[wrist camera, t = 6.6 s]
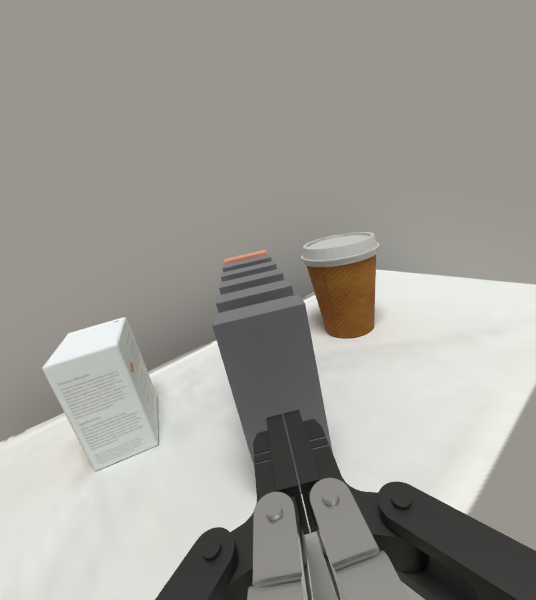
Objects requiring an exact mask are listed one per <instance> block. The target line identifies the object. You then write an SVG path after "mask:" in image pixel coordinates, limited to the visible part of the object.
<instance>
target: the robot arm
mask: <svg viewBox="0 0 536 600" xmlns="http://www.w3.org/2000/svg"><path fill="white" fill-rule="evenodd" d="M283 415H284V419H285V423H286V427H287V432H288V436H289V440H290V445H291V449H292V453H293V457H294V462H295V466H296V470H297V474H298V479H299V483H300V487H301V491H302V495H303V500H304V504H305V508H306V512H307V516H308V521H309V525H310V529H311V533H312V532H315V531H317V534H318V538H319V542H320V546H321V550H322V555H323V559H324V562H325V565H326V568H327V571H328V574H329V577H330V580H331V583H332V586H333V589H334V593H335V596H336V599H337V600H410V598H409V596H408V594H407V592H406V590H405V588H404V587H403V585H402V582H403V583H405V584H406V585H407V586H409V587H410V588H411V589H412V590H414V591H415V592H416V593H418V594H419V595H420V596H422V597H423V598H424V599H425V600H536V551H534V550H532V549H531V548H528V547H527V546H525V545H523V544H521V543H519V542H517V541H515V540H513V539H512V538H510V537H508V536H506V535H504V534H502V533H500V532H498V531H496V530H494V529H492V528H490V527H489V526H487V525H485V524H483V523H481V522H479V521H477V520H475V519H474V518H472V517H470V516H468V515H466V514H464V513H462V512H460V511H458V510H456V509H454V508H453V507H451V506H449V505H447V504H445V503H443V502H441V501H439V500H437V499H435V498H434V497H432V496H430V495H428V494H426V493H424V492H422V491H420V490H418V489H416V488H415V487H413V486H411V485H409V484H406V483H403V482H390V483H387V484H385V485H384V486H383V487H382V488H381V489H380V491H379V493H374V492H363V491H359V490H356V489H354V488H352V487H350V486H349V485H348V484H347V483H346V482H345V481H344V479H343V478H342V476H341V474H340V471H339V469H338V466H337V463H336V461H335V458H334V456H333V453H332V451H331V448H330V446H329V443H328V441H327V438H326V436H325V433H324V431H323V428H322V426H321V425H320V424H319V423H318V422H317V421H316V420H315V419H310V420H306V421H302V418H301V414H300V411H299V410H295V411H291V412H287V413H283ZM266 422H267V428H268V430H267V431H263V432H259V433H257V434H256V437H255V439H254V442H253V452H254V463H255V478H256V490H257V504H256V507H255V509H254V512H253V514H252V516H251V517H250V518H249V519H248V520H247V521H246V522H245V523H244V524H242V525H241V526H239V527H238V528H236V529H235V530H233V531H232V532H229V531H228V530H227V529H224V528H220V527H218V528H212V529H210V530H208V531H206V532H205V533H203V534H202V535H201V536H200V537H199V538H198V540H197V541H196V542H195V544H194V545H193V547H192V548H191V549H190V551H189V552H188V554H187V555H186V557H185V558H184V559H183V561H182V562H181V564H180V565H179V567H178V568H177V569H176V571H175V572H174V574H173V575H172V576H171V578H170V579H169V581H168V582H167V584H166V585H165V586H164V588H163V589H162V591H161V592H160V594H159V595H158V596H157V598H156V599H155V600H313V592H312V585H311V578H310V571H309V564H308V559H307V557H308V552H307V546H306V542H305V537H304V535H305V534H309V529H308V524H307V520H306V516H305V511H304V507H303V503H302V498H301V494H300V489H299V485H298V481H297V476H296V472H295V468H294V463H293V459H292V455H291V450H290V446H289V442H288V438H287V433H286V429H285V425H284V421H283V417H282V414H279V415H275V416H271V417H267V418H266ZM400 580H401V581H402V582H401V581H400Z"/></svg>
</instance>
